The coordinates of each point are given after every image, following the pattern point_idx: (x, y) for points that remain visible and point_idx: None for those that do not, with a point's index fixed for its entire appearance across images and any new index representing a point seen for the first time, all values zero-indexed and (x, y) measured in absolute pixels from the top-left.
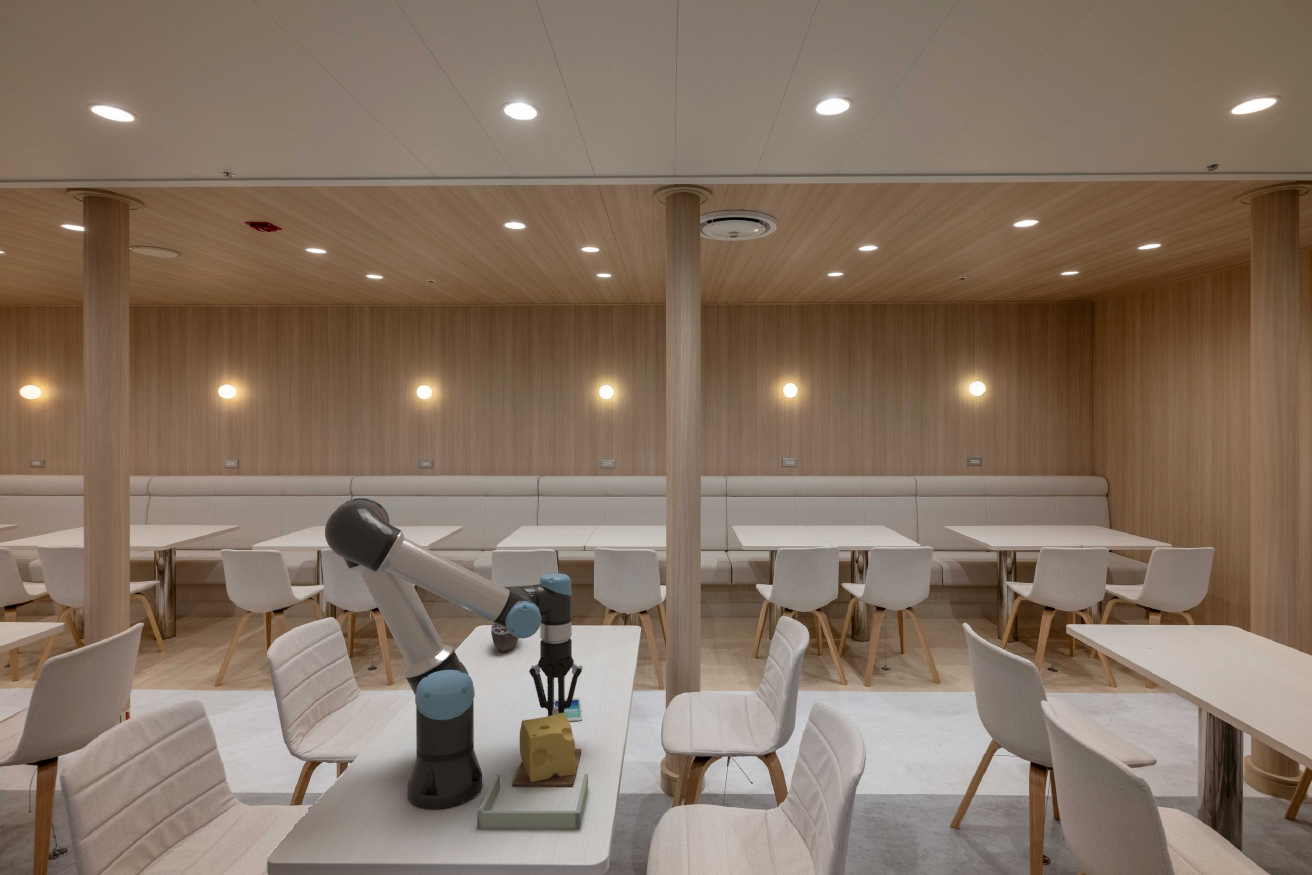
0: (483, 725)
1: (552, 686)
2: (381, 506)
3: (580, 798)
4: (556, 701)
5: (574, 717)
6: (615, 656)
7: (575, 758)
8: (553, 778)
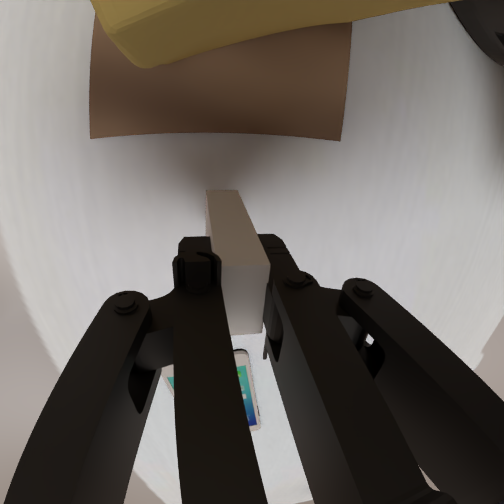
0: (429, 308)
1: (350, 472)
2: None
3: None
4: (252, 424)
5: None
6: (176, 497)
7: (108, 46)
8: None
